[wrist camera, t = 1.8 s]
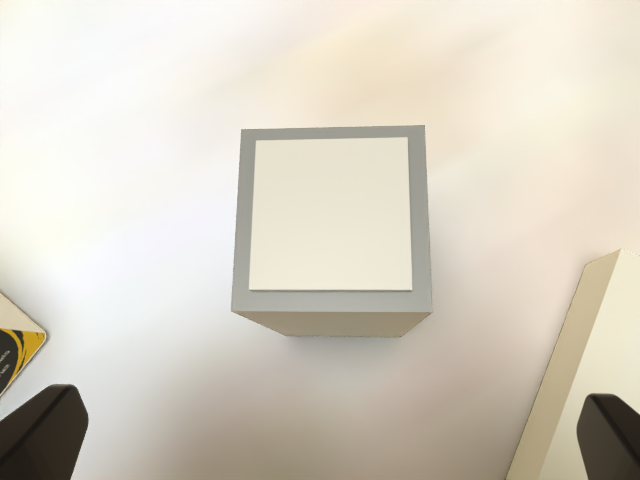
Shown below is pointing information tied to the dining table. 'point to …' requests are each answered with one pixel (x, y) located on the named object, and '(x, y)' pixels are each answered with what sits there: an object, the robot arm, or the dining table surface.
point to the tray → (585, 368)
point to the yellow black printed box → (16, 341)
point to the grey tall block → (333, 231)
